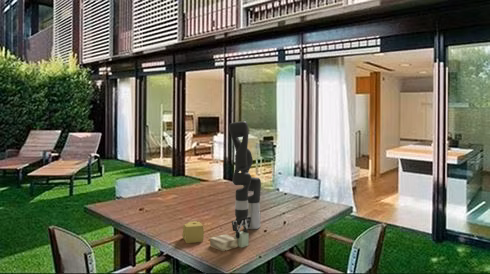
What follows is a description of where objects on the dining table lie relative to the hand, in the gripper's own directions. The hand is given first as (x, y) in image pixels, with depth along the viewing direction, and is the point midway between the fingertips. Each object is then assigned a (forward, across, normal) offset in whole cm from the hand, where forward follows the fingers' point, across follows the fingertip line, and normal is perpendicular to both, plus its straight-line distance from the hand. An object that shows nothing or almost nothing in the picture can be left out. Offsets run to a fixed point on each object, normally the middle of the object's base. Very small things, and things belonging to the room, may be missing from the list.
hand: (241, 236), depth 221 cm
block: (+5, 0, 0) cm, 5 cm away
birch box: (+5, +8, -6) cm, 11 cm away
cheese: (+5, +13, -27) cm, 30 cm away
